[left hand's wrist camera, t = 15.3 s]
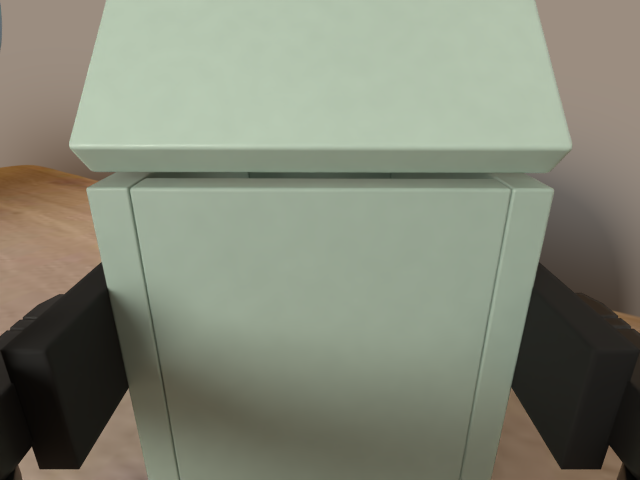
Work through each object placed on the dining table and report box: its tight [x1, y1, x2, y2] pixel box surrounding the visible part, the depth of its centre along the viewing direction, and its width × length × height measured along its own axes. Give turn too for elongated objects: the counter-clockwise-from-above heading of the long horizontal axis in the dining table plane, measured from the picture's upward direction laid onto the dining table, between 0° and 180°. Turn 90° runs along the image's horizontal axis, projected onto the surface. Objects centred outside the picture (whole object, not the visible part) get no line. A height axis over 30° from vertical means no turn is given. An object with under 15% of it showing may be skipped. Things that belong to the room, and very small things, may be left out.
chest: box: [87, 172, 554, 480], centre depth 17 cm, size 15×9×10 cm, turn 0°
